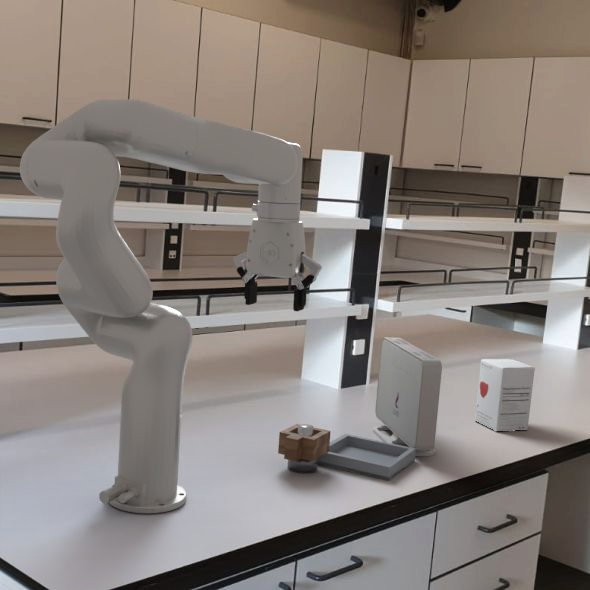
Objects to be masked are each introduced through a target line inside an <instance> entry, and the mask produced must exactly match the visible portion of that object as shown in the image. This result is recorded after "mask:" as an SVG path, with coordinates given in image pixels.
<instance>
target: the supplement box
mask: <svg viewBox="0 0 590 590" xmlns="http://www.w3.org/2000/svg"><path fill="white" fill-rule="evenodd" d="M479 366H480V368H479V376H478V386H477V394H476V395H477V396H476V406H475V415H474V422H475V421H477V422H479V423H481V424H483V425H485V426H487V427H489V428H491V429H493V430H494V431H493V430H492V431H493V432H495V431H509V432H514V431H513V430H527V429H528V427H529V421H530V420H529V419H530V411H531V403H532V396H533V395H532V394H533V386H534V376H535V370H536V369H535V368H536V367H535V366H532V365H529V364H526V363H524V362H521V361H518V360H515V359H513V358H482V359H480V365H479ZM477 422H476V423H477ZM479 423H478V424H479ZM481 424H480V425H481ZM483 425H482V426H483ZM485 426H484V427H485ZM487 427H486V428H487ZM489 428H488V429H489ZM491 429H490V430H491ZM527 431H528V430H527Z"/></svg>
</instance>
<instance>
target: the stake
mask: <svg viewBox="0 0 590 590" xmlns="http://www.w3.org/2000/svg"><path fill="white" fill-rule="evenodd" d="M299 424H300V423H299ZM313 427H314V425H312V424H308V423H301V424H300V425H298V434H300V435H305V436H309V437H312V436H313ZM318 459H319V458H317V459H316V460H314V461H309V460H304V459H300V460H298V461H292V460H287V469H288V470H289V471H290V472H293V473H297V474H312V473H317V471H318V470H319V468H318V467H319V464H318Z"/></svg>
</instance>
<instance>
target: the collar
mask: <svg viewBox="0 0 590 590" xmlns="http://www.w3.org/2000/svg"><path fill="white" fill-rule="evenodd" d="M298 425H300V423H296V424H293V425H291V426H290V427H288V428H285V429H284V430H281V431H279V435H278V436H279V438H278V450H277V454H278V455H283V456H284V457H283V458H284V460H287V461H288V460H292V461H298V460H300V459H304V460H309V461H314V460H316V459H317V458H319V457H321V456H323V455H324V454H326V453H328V452H329V445H330V442H331V430H328V429H324V428H318V427H314V426H313V436H312V437H309V436H305V435H300V434H298Z"/></svg>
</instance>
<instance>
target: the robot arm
mask: <svg viewBox="0 0 590 590" xmlns="http://www.w3.org/2000/svg"><path fill="white" fill-rule="evenodd" d="M117 157H121V158H129V159H134V160H139V161H143V162H147V163H151V164H155V165H156V164H157V165H160V166H164V167H168V168H171V169H175V170H180V171H184V172H189V173H195V174H203V175H221V176H224V177H225V178H226V179H228V180H230V181H232V182H234V183H237V184H238V183H239V184H248V185H258V196H257V197H258V199H257V203H256V204H255V203H253V204H252V205H251V211H252V212H255V213H256V216H257V218H253V219H252V223H251V225H250V230H249V234H248V240H247V241H248V242H247V247H246V251H244V252H241V253H240V254H237V255H236V256H234V257H233V259H232V260H233V263H234V266H235V268H236V272H237V274H238V275H239V277H240V278H241V280H242V283H244V296H243V297H244V299H245V302H244V303H245V305H246V306H250V305H253V304H256V303H257V302H258V301H257V300H258V281H257V280H256V279H257V278H258V277H259V276H265V277H273V278H283V279H284V278H285V279H290V278H291V280H292V282H293V283H294V285H295V286H296V288H295V289H294V290H293V305H292V306H293V308H292V310H293V311H294V312H300V311H303V310H304V309H305V307H306V306H307V292H308V290H307V289H308V288H310V286H311V285H312V284H313V283H314V282H315V281H316V280H317V277H318V276H319V274H320V273H321V271H322V268H323V267H322V265H321V264H320V263H318V262H317V261H316V260H314V259H312V258H311V257H309V255H307V254H306V253H307V252H306V238H305V237H306V236H305V229H304V224H303V221H300V220H301V219H300V218H301V217H300V215H301V196H302V194H301V193H302V179H303V178H302V177H303V175H302V173H303V160H304V159H303V149H302V147H301V145H299V144H298V143H294V142H293V143H292V142H288V141H286V140H284V139H282V138H279V137H275V136H272V135H270V134H266V133H263V132H259V131H255V130H250V129H245V128H242V127H237V126H236V127H235V126H232V125H228V124H225V123H223V122H222V123H221V122H217V121H213V120H208V119H204V118H199V117H196V116H192V115H189V114H186V113H183V112H179V111H176V110H173V109H171V108H167V107H164V106H162V105H161V106H160V105H157V104H154V103H152V102H147V101H144V100H140V99H139V100H138V99H125V98H123V99H119V98H118V99H103V98H102V99H98V100H94V101H91V102H89V103H87V104H85V105H83V106H81V107H80V108H79V109H77V110H75V111H74V112H73V113H71V114H70V115H69V116H66V118H64V119H63V120H62V121H60V122H59V123H57V124H56V125H54V126H53V127H52V128H50V129H49V130H47V131H46V132H44V133H43V134H41V135H39V137H37V138H36V139H34V140H33V141H32V142H31V143H30V144H29V145H28V146H27V147H26V149H25V150H24V152H23V154H22V156H21V159H20V162H19V163H20V164H19V174H20V178H21V180H22V182H23V184H24V186H25V187H26V189H28V190H29V191H30V192H31V193H33V194H35V195H36V196H38V197H41V198H44V199H49V200H51V199H52V200H59V201H60V200H61V201H60V206H59V211H58V215H57V219H56V221H57V222H56V228H55V229H56V230H55V239H56V243H57V247H58V249H59V252H61V254H62V257H63V258H64V259H62V261H61V262H60V264H59V266H58V268H57V272H56V276H55V277H56V280H55V281H56V288H57V289H56V290H57V293H58V296H59V298H60V300H61V302H62V304H63V305H64V306H65V308H66V309H67V311H68V312H69V313H70V314H71V316H72V317H73V318H74V319H75V321H76V322H77V323H78V325H79V326H80V327H81V329H82V330H83V331H84V332H85V333H86V335H87V336H88V337H89V338H90V339H91V341H92V342H93V343H94V344H95V346H97V347H99V349H101V350H102V351H103V352H104V353H107V354H110V355H113V356H115V357H119V358H122V359H127V360H130V361H132V362H133V363H132V365H131V368H130V370H129V372H128V374H127V375H126V378H125V380H124V382H123V386H122V389H121V400H120V421H119V442H118V443H119V445H118V462H117V463H118V464H117V465H118V466H117V475H116V476H114V484H112V486H111V487H109V488H107V489H104V490H102V491H100V492H99V494H98V495H99V497H98V498H99V501H100V502H101V503H102V504H110V506H112V507H114V508H115V509H118V510H121V511H123V512H129V513H134V514H161V513H167V512H170V511H174V510H176V509H178V508H180V507H182V506H184V505H185V503H186V502H187V490H186V489H185V488H183V487H182V486H180V485H178V483H179V482H178V480H179V479H178V478H179V464H180V462H179V461H180V449H181V448H180V446H181V445H180V444H181V443H180V442H181V428H182V427H181V426H182V414H183V412H182V411H183V410H182V409H183V395H184V394H183V392H184V381H185V374H186V369H187V365H188V360H189V356H190V353H191V348H192V345H193V344H192V343H193V329H192V327H191V324H190V322H189V320H188V319H187V317H186V316H185V315H184V314H182V313H181V312H180V311H178V310H177V309H174V308H172V307H170V306H167V305H162V304H157V303H153V302H152V300H153V296H154V295H153V293H154V291H153V290H154V289H153V286H152V285H153V284H152V282H151V279H150V277H149V275H148V273H147V272H146V270H145V269H144V267H143V266H142V264H141V263H140V261H139V260H138V258H137V257H136V256H135V254H134V253H133V251H132V249H130V247H129V245H128V244H127V243H126V241H125V239H124V237H122V235H121V234H120V232H119V230H118V228H117V225H116V223H115V219H114V218H115V216H114V210H115V205H116V199H117V196H118V191H119V188H120V184H121V177H122V175H121V173H122V172H121V167H120V163H119V160H118V158H117ZM244 262H245V263H244ZM306 267H308V268H309V269H310V271H309V273H308V275H305V271H306Z"/></svg>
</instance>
